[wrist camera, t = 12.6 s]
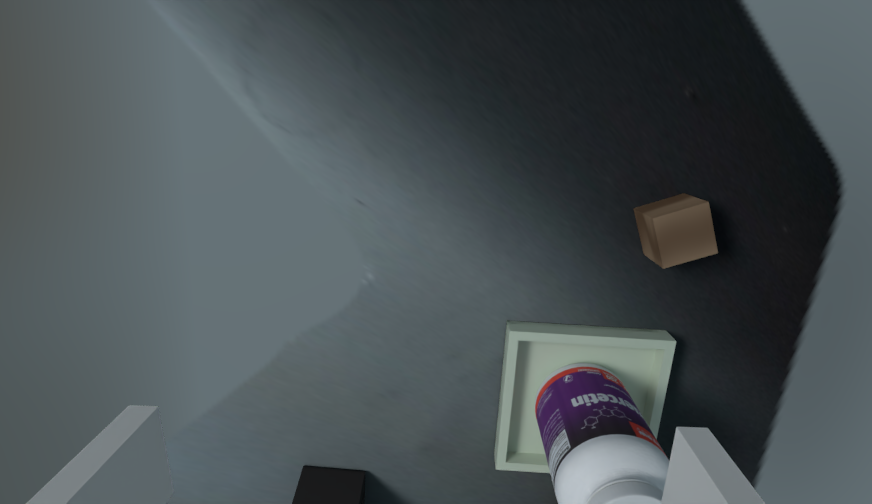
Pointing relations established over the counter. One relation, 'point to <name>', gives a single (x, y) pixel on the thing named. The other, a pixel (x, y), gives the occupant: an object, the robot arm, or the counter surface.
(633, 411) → the pill bottle
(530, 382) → the tray
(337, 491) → the phone stand
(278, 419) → the counter surface
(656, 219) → the walnut block
